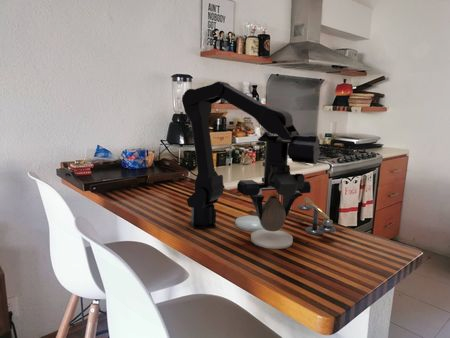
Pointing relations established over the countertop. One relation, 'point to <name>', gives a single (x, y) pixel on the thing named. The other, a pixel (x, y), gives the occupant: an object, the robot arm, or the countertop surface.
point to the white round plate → (249, 223)
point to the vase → (272, 214)
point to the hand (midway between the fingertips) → (272, 218)
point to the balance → (326, 222)
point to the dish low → (271, 239)
